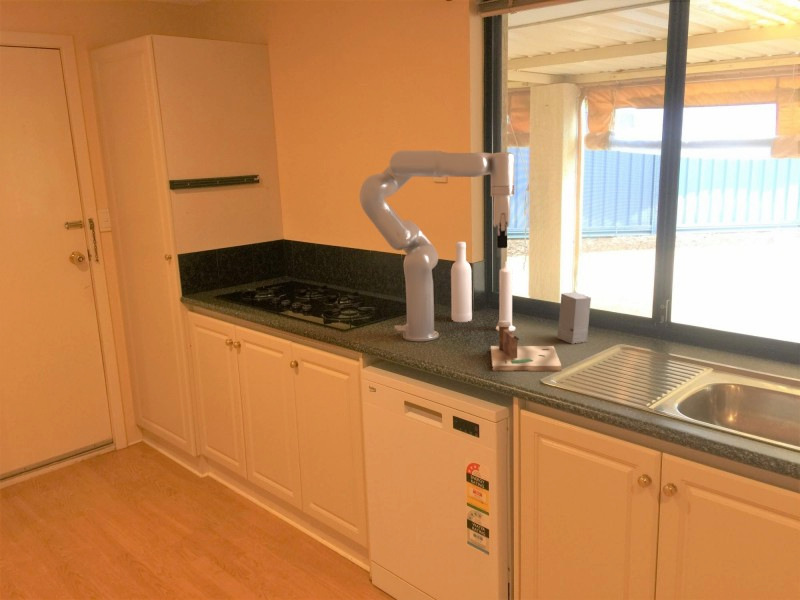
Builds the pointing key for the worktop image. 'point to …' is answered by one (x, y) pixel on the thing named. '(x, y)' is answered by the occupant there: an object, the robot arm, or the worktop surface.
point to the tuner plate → (527, 359)
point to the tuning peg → (507, 339)
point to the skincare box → (574, 317)
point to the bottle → (461, 286)
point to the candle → (505, 296)
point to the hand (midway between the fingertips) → (502, 247)
